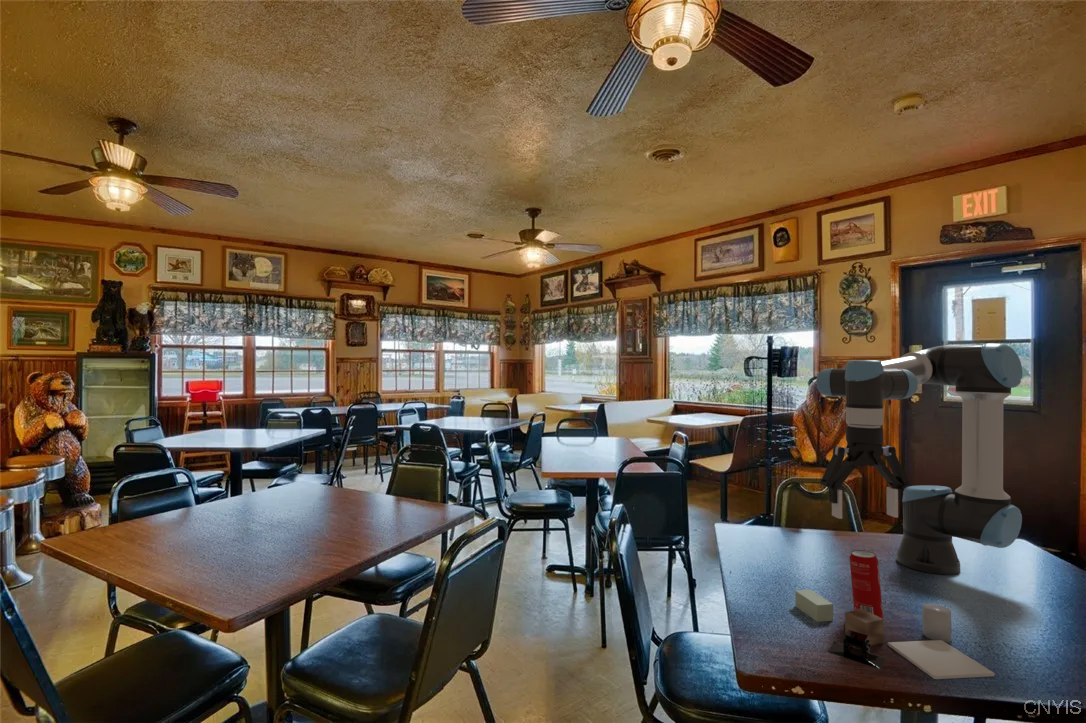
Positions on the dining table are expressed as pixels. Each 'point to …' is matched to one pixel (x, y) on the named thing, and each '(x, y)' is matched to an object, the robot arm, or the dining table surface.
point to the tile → (940, 659)
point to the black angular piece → (854, 653)
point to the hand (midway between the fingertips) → (864, 516)
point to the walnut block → (865, 625)
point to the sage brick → (814, 605)
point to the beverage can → (866, 582)
